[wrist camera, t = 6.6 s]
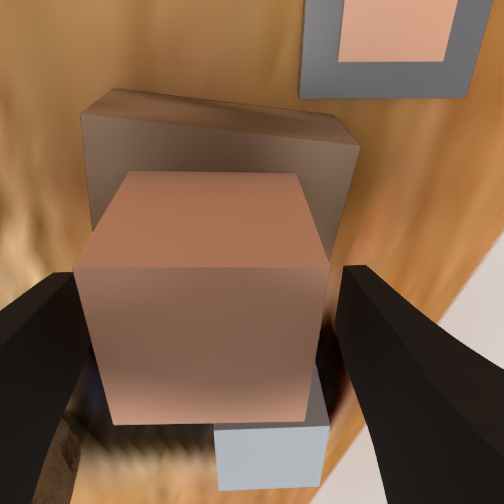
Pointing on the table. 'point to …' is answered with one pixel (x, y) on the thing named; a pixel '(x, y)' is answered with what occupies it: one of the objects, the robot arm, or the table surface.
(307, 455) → the grey cube
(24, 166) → the table surface
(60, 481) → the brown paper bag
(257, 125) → the walnut base
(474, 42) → the card
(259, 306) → the terracotta cube
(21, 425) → the robot arm
